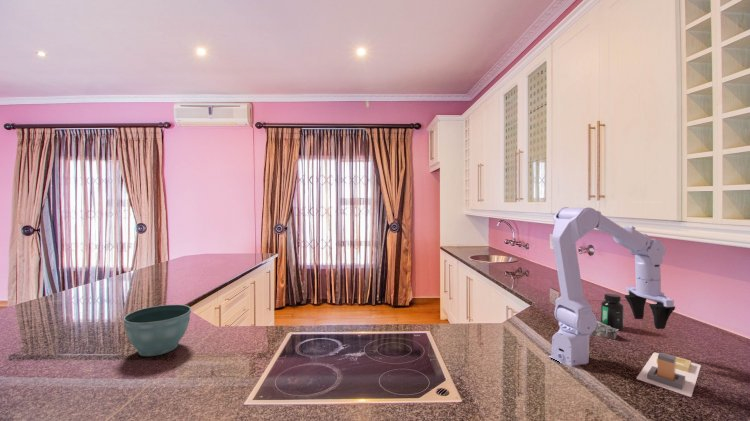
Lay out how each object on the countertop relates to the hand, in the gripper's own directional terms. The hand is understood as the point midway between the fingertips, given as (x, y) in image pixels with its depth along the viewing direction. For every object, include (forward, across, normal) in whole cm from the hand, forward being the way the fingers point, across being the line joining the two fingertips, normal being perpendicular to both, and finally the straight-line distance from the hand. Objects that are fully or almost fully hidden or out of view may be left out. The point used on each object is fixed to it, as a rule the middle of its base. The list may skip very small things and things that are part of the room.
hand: (649, 323), depth 95 cm
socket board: (+10, -10, +3) cm, 15 cm away
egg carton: (+10, +17, +4) cm, 20 cm away
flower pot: (0, -6, +145) cm, 145 cm away
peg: (+8, -15, +8) cm, 19 cm away
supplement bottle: (+11, +24, -6) cm, 27 cm away
